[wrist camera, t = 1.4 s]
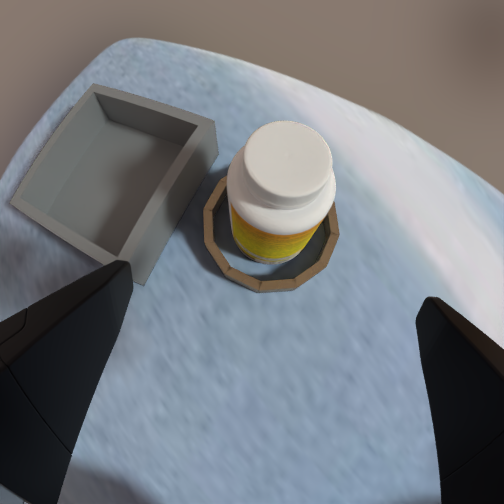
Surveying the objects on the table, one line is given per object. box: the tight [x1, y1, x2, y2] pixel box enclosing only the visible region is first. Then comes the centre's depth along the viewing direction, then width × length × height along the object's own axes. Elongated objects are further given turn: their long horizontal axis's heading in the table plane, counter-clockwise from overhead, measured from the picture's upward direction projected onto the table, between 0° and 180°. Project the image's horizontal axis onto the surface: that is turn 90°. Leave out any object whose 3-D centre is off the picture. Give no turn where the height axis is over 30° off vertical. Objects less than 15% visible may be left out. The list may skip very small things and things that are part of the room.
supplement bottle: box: [227, 121, 336, 265], centre depth 18 cm, size 6×6×10 cm
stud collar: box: [203, 176, 340, 293], centre depth 23 cm, size 9×9×2 cm
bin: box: [10, 83, 219, 286], centre depth 22 cm, size 12×12×4 cm
